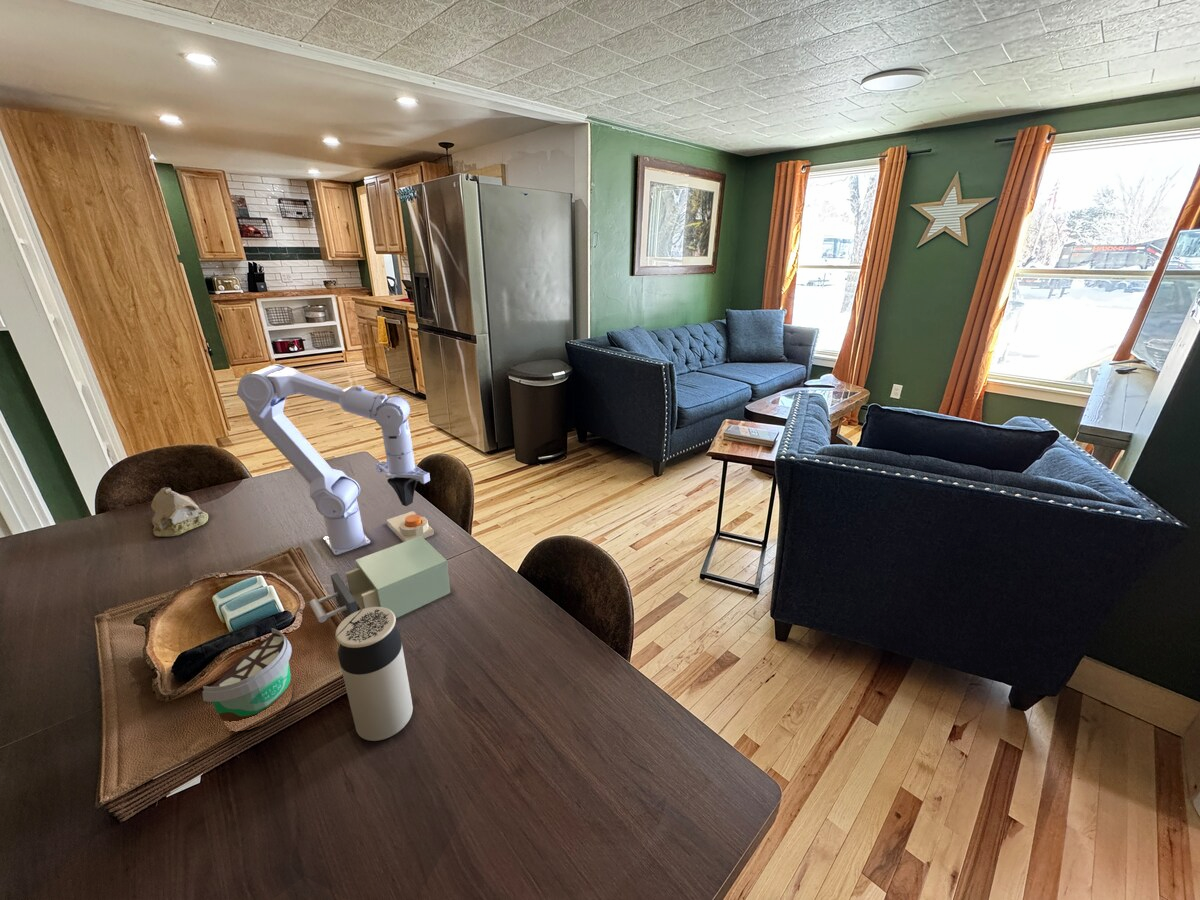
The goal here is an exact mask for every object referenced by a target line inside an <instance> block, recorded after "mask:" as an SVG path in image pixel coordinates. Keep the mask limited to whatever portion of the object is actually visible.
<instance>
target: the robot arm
mask: <svg viewBox="0 0 1200 900" xmlns="http://www.w3.org/2000/svg"><path fill="white" fill-rule="evenodd" d="M297 394H300V395H303V396H307V397H312V398H315V399H319V400H323V401H327V402H331V403H335V404H338V405H339V406H340V408H341V409H342V411H344V412H346V413H349V414H354V415H356V416H359V417H363V418H366V419H369V420H373V421H375V423H377V425H378V426H379V427H381V432H382V433H381V434H382V439H383V445H384V452H385V459H386V461H382V460H381V461H380V462H378V463H376V464H375V467H376V473H377V472H378V473H385V477H386V478H387V484H389V485H390V487H391V488H392V489H393V490H394V492H395V494H396V495H397V497H398V500H399V502H400V503H401V506H404V507H408V506H410V505H412V504H413V503H414V495H415V491H416V487H417V484H418V482H420V484H423V485H425V484H427V483H428V482H429V483H430V481H431V476H430V472H427V471H425V470H423V469H422V468H420V467H418V466H417V465H416V463H415V455H414V447H413V442H412V435H411V429H410V423H409V419H408V417H409V416H410V414H411V406H410V404H409V403H410V402H408V401H407V400H406V399H405V398H404V397H401V396H399V395H398V394H395V395H394V394H393V395H390V396H388V394H386V393H381V394H380V393H378V392H375V391H374V392H373V391H370V390H369V389H368V390H367V389H365V386H364V385H360V384H358V385H356V386H355V385H351V386H349V387H346V388H343V387H340V386H338V385H335V384H333V383H329V382H327V381H324V380H321V379H319V378H316V377H313V376H311V375H309V374H305V373H303V372H301V371H299V370H298V369H296V368H294V367H287V366H285V365H282V364H278V363H272V364H269V365H267V366H266V367H264V368H261V369H259V370H256V371H253V372H249V373H246V374H244V375H243V376H242V377H240V379H239V381H238V386H237V391H236V395H237V396H238V397H239V398H240V399H241V400H242V401H243V403H244V404H245V405H244V406H245V407H246V410H247V413H248V416H249V418H250V420H251V421H252V423H253V424H254V425H255V426H256V427H257V428H258V429H259V430H260V432H262V434H263V435H264V436H265V437H266V438H267V439H268V440H269V441H270V442H271V443H272V445H274V447H276V449H277V450H278V451H279V452H280V453H281V454H282V456H284V458H285V459H286V460H287V461H288V462H289V463H290V464H291V465H292V466H293V468H295V469H296V471H297V472H298V473H299V474H300V475H301V476H302V477H303V478H304V480H306V482H307V483H309V497H310V498H311V500H312V501H313V502H314V505H315V507H316V510H317V512H318V513H319V514H320V515H322V516H323V521H324V525H325V529H326V534H327V535H326V536H324V537H323V540H324V542H325V543H326V545H327V547H328V548H329V549H330V550H331V552H332V554H333V555H334V556H339V555H341V554H344V553H347V552H350V551H353V550H356V549H358V548H361V547H365V546H367V545H370V544H371V543H372V542H371V540H370V539H369V537H368V536H367V535H366V534H365V532H364V529H363V528H364V527H363V523H362V522H363V521H362V517H361V512H360V507H359V503H358V497H359V496H360V495H361V487H360V484H359V483H358V482H357V480H355V479H353V478H352V477H350V476H348V475H347V474H346V473H345V472H344V471H343V470H340V469H334V468H332V467H331V466H330V465H329V463H328V462H327V461H326V460H325V459H324V458H323V457H322V455H320V453H319V452H318V451H317V450H316V449H315V448H314V447H313V445H312V444H311V443H310V442H309V441H308V440H307V439H306V437H305V436H304V435H303V433H301V432H300V431H299V429H298V428H297V427H296V426H295V425H294V424H293V423H292V421H291V420H290V419H289V418H288V417H287V415H285V414H284V409H285V408H284V407H285V404H286V399H287V398H288V397H290V396H294V395H297Z"/></svg>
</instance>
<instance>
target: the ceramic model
mask: <svg viewBox="0 0 1200 900" xmlns="http://www.w3.org/2000/svg"><path fill="white" fill-rule="evenodd" d="M150 506H151V509H152V511H153V512H155V513H153V517H152V519H151V522H152V526H154V527H153V529H152V531H153V532H152V533H153V535H154V536H155V537H176V536H180V535H182V534H184V533H186V532H188V531H190V530H191V531H192V530H193V529H195V528H199V527H201V526H203V525H205V524H206V523H207V522H208V519H209V513H207V512H206V511H203V510H202V509H200V507H199V505H198V504H197V503H196V502H195V501H194V500H193V499H192V498H191V497H189V496H188V495H183V494H181V493H178V492H176V491H173V490H172V489H171V487H168V486H167V487H165V486H164V487H162V488H160V489H159V491H158V492H157V493H155V495H154V497H153V499H152V501H151V504H150Z"/></svg>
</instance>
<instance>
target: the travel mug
mask: <svg viewBox="0 0 1200 900" xmlns="http://www.w3.org/2000/svg"><path fill="white" fill-rule="evenodd" d="M396 621H397V618H395V615H394V613H393V612H392V611H391V610H389V609H387V608H383V607H370V608H365V609H362V610H360V609H359V610H358V611H357V612H354V613H353V614H351V615H349V616H348V617H346V616H345V618H344V619H342V621H341V622H340V623H339V624H338V626H337V627H336V630H335V640H336V641H337V643H338V644H339V646H338V649H337V657H338V661H339V666H340V670H341V673H342V677H343V681H344V685H345V691H346V695H347V698H348V702H349V706H350V712H351V715H352V718H353V724H354V728H355V731H356V733H357V735H358V736H359V737H360V738H361V739H363V740H366V741H370V742H371V741H372V742H376V741H382V740H386V739H389V738H390V737H393V736H395V735H396V734H398V733H399V732H400V731H401V730H403V728H405V726H406V725H407V724H408V723H409V721H410V719H411V718H412V715H413V710H414V706H413V699H412V694H411V688H410V683H409V676H408V672H407V667H406V666H407V665H406V660H405V659H406V658H405V653H404V648H403V642H402V636H401V632H400V629H398V627H397V626H396V623H397V622H396Z"/></svg>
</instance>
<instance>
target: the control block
mask: <svg viewBox="0 0 1200 900" xmlns="http://www.w3.org/2000/svg"><path fill="white" fill-rule="evenodd" d="M414 514H416V515H418V514H417V513H416V512H415V511H414V510H412V511H409V512H405V513H404V514H399V515H396V516H394V517H391V518H387V519H386V525H387V527H388V528H389V529H390V530H391V531H392V533H394V534H395V535H396V536H397V537H398V538H399V539H400V540H401V541H402V543H403V542H405V541H408V540H411V539H414V538H416V537H419V536H422V537H423V538H424V539H426V538H429V537H431V536H434V535H435V533H434V529H433V528H432V527H431V525H429V520H428V519H427V518H426V517H425V516H421V515H420V517H421V525H419V526H416V527H407V526H406V523H405V518H406V517H407V516H409V515H414Z"/></svg>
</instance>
